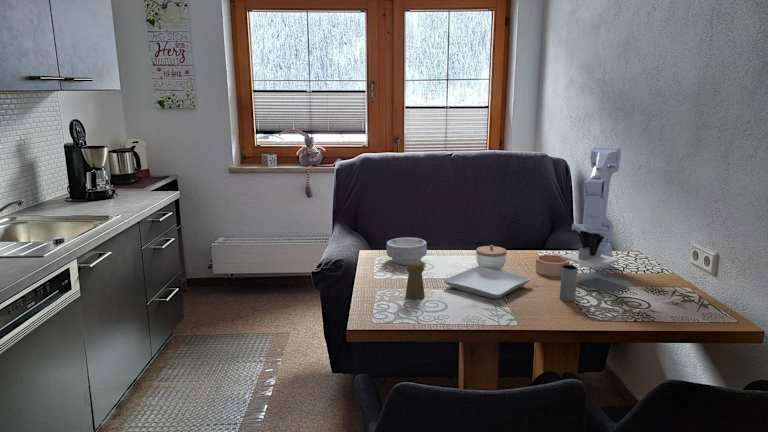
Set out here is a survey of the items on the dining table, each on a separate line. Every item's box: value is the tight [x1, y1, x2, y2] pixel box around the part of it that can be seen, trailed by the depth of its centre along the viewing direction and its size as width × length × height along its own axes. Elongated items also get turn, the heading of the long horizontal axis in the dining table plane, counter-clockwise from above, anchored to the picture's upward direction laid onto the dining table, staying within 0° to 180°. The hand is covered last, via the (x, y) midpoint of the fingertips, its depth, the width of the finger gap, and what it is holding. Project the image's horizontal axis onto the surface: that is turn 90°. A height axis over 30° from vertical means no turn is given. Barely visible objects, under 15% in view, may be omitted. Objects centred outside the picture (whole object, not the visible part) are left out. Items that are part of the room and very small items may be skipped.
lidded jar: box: [475, 244, 507, 271], centre depth 194 cm, size 11×11×9 cm
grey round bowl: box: [386, 237, 428, 266], centre depth 205 cm, size 15×15×8 cm
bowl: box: [535, 253, 571, 277], centre depth 192 cm, size 11×11×5 cm
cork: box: [404, 261, 425, 301], centre depth 168 cm, size 6×6×11 cm
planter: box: [559, 264, 578, 302], centre depth 166 cm, size 4×4×10 cm
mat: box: [576, 270, 637, 293], centre depth 182 cm, size 16×16×1 cm
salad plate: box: [443, 265, 532, 299], centre depth 177 cm, size 21×21×3 cm
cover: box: [560, 246, 620, 268], centre depth 183 cm, size 13×13×4 cm
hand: (589, 254), depth 183 cm, fingers closed on cover, 2 cm apart
